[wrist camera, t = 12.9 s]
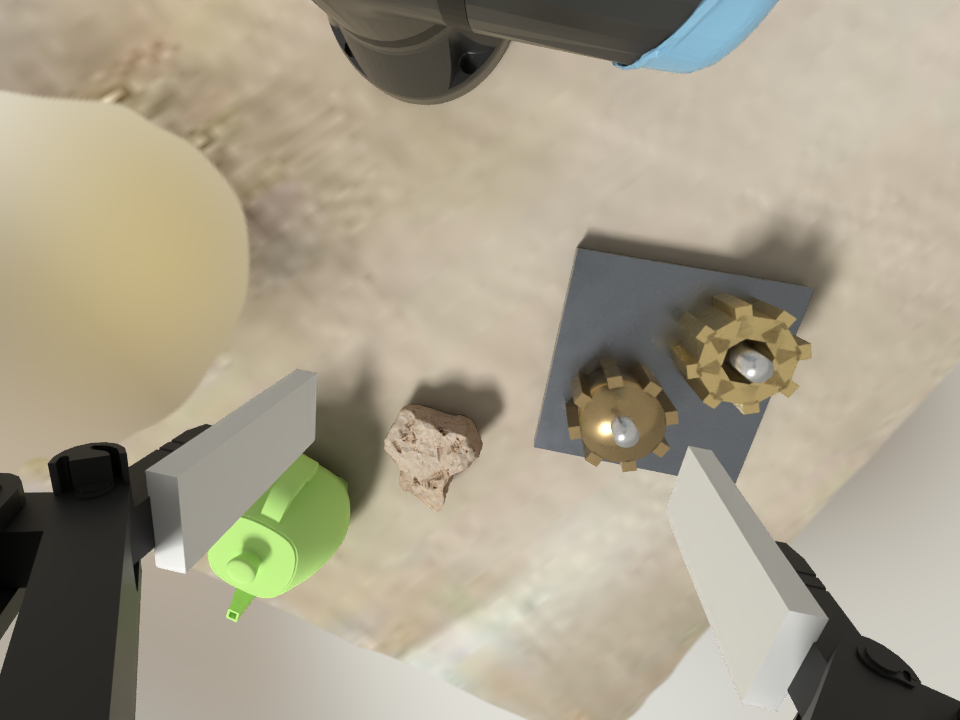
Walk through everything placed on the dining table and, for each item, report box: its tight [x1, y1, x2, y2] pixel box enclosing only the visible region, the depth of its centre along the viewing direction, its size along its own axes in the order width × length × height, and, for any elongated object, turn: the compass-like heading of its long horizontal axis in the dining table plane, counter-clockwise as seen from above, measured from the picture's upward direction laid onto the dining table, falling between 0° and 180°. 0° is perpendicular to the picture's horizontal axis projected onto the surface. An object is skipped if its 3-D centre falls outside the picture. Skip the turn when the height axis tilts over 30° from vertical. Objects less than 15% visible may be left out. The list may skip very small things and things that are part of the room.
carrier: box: [534, 247, 814, 483], centre depth 40 cm, size 20×20×8 cm
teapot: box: [208, 454, 350, 622], centre depth 48 cm, size 20×13×13 cm
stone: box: [384, 405, 483, 511], centre depth 47 cm, size 9×11×5 cm
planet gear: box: [670, 293, 812, 415], centre depth 38 cm, size 9×9×5 cm
